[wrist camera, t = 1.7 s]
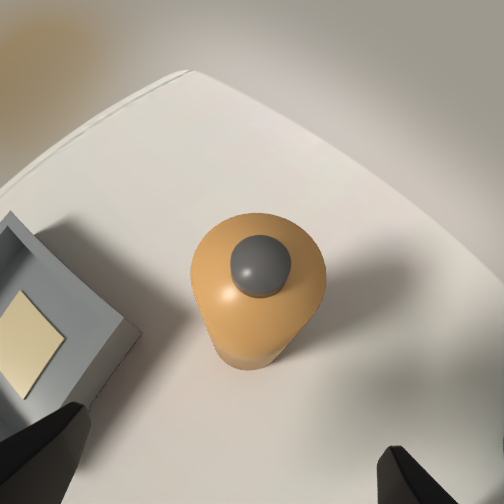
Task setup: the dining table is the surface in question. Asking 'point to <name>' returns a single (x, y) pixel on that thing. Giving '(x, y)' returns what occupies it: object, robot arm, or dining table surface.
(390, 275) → the dining table surface
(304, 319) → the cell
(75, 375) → the gray square tray
